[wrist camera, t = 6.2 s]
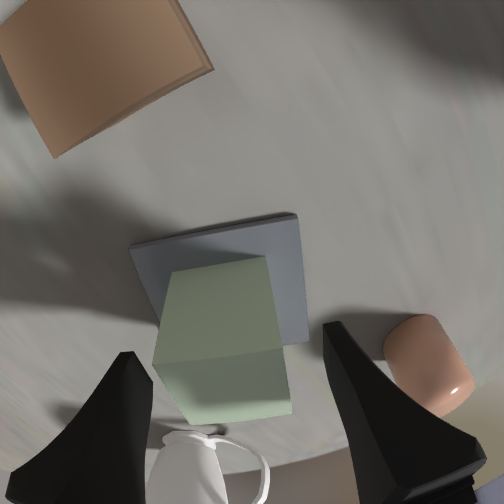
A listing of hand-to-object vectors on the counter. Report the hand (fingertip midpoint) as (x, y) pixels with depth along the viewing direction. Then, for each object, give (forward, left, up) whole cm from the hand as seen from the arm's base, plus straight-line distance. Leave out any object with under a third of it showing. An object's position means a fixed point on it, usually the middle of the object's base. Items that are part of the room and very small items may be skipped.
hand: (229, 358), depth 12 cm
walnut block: (+1, -11, -4) cm, 12 cm away
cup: (+5, +14, -4) cm, 15 cm away
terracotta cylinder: (-10, +6, -4) cm, 12 cm away
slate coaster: (0, 0, -4) cm, 4 cm away
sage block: (0, 0, -3) cm, 3 cm away
